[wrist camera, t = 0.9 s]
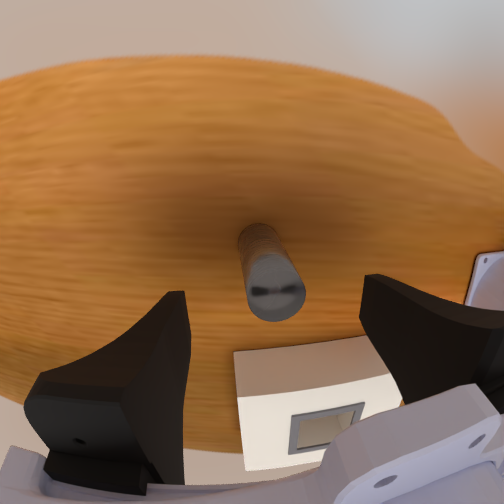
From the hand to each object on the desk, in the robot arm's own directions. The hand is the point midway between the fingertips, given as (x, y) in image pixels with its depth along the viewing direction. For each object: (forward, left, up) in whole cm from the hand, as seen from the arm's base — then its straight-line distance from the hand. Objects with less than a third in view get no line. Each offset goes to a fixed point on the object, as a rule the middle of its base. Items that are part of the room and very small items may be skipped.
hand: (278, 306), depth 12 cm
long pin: (0, 0, -7) cm, 7 cm away
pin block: (-4, +13, -7) cm, 15 cm away
